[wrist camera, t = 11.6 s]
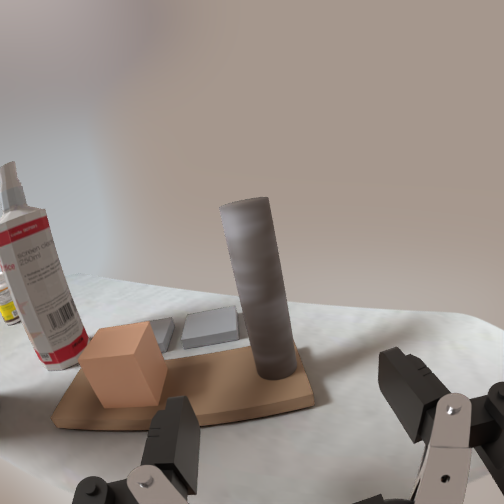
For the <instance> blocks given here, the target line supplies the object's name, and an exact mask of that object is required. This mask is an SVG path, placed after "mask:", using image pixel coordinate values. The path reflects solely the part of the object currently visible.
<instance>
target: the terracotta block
mask: <svg viewBox="0 0 504 504" xmlns="http://www.w3.org/2000/svg"><path fill="white" fill-rule="evenodd" d="M77 360H78V362H79V364H80V366H81V368H82V370H83V372H84V374H85V376H86V377H87V379H88V381H89V383H90V385H91V387H92V388H93V390H94V392H95V394H96V395H97V397H98V399H99V400H100V402H101V404H102V405H103V407H104V408H128V407H146V406H158V404H159V401H160V397H161V393H162V389H163V385H164V381H165V378H166V374H167V370H168V368H167V365H166V363H165V361H164V358H163V356H162V353H161V351H160V348H159V346H158V343H157V340H156V338H155V335H154V332H153V330H152V327H151V324H150V322H149V321H146V322H140V323H134V324H127V325H121V326H114V327H108V328H101V329H99V330H98V331H97V332H96V334H95V335H94V337H93V338H92V339H91V341H90V342H89V344H88V345H87V346H86V348H85V349H84V351H83V352H82V354H81V355H80V356H79V358H78V359H77Z"/></svg>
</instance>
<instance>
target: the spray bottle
mask: <svg viewBox="0 0 504 504" xmlns="http://www.w3.org/2000/svg"><path fill="white" fill-rule="evenodd" d="M0 180H1V186H0V187H1V189H0V198H1V205H2V211H3V216H2V217H1V218H0V266H1V269H2V272H3V275H4V278H5V281H6V284H7V287H8V289H9V292H10V295H11V297H12V300H13V302H14V305H15V307H16V310H17V312H18V315H19V317H20V319H21V322H22V324H23V326H24V329H25V331H26V333H27V335H28V337H29V339H30V341H31V344H32V346H33V348H34V350H35V352H36V354H37V356H38V358H39V359H40V361H41V363H42V365H43V366H44V367H45V368H46V369H47V370H48V371H53V370H63V369H66V368H68V367H70V366H72V365H75V364H77V363H79V362H78V360H77V359H78V358H79V356H80V355H81V354H82V352H83V351H84V349H85V348H86V346H87V345H88V344H89V342H90V340H89V337H88V335H87V333H86V331H85V328H84V326H83V324H82V321H81V319H80V316H79V314H78V311H77V309H76V306H75V304H74V301H73V298H72V296H71V293H70V290H69V288H68V285H67V282H66V279H65V276H64V274H63V270H62V267H61V264H60V261H59V258H58V254H57V251H56V248H55V245H54V241H53V237H52V234H51V230H50V226H49V222H48V218H47V214H46V210H45V209H39V208H35V207H30V206H27V204H26V199H25V195H24V192H23V187H22V186H21V183H20V182H19V180H18V178H17V173H16V166H15V162H14V161H12V162H9V163H7V164H5V165H3V166H2V167H0Z"/></svg>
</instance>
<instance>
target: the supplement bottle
mask: <svg viewBox="0 0 504 504" xmlns="http://www.w3.org/2000/svg"><path fill="white" fill-rule="evenodd" d="M0 312H1V314H2V317H3V319H4V321H5V323H6V324H7V325H12V324H15V323H17V322H19V321H21V319H20V317H19V315H18V312H17V310H16V307H15V305H14V302H13V300H12V297H11V295H10V292H9V289H8V287H7V284H6V281H5V278H4V275H3V272H0Z"/></svg>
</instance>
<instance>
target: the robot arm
mask: <svg viewBox="0 0 504 504" xmlns="http://www.w3.org/2000/svg"><path fill="white" fill-rule="evenodd" d="M378 383H379V387H380V390H381V392H382V394H383V396H384V397H385V399H386V400H387V402H388V403H389V405H390V406H391V408H392V410H393V411H394V413H395V414H396V416H397V418H398V419H399V421H400V422H401V424H402V425H403V427H404V429H405V430H406V432H407V433H408V435H409V437H410V438H411V440H412V442H413V443H414V444H415V443H417V442H419V441H421V440H423V441H424V443H425V444H426V445H425V448H424V451H423V455H422V459H421V463H420V467H419V470H418V474H417V477H416V480H415V484H414V487H413V489H412V492H411V495H410V497H409V500H405V499H387V500H384V499H383V497H382V495H381V494H379V495H377V496H374V497H371V498H368V499H365V500H362V501H359V502H356V503H353V504H463V501H464V496H465V491H466V486H467V480H468V474H469V468H470V461H471V453H472V450H471V448H473V447H474V449H475V450H476V452H477V453H478V455H479V456H480V458H481V459H482V461H483V463H484V464H485V466H486V467H487V469H488V471H489V472H490V474H491V475H492V477H493V479H494V480H495V482H496V484H497V485H498V487H499V489H500V490H501V492H502V494H503V495H504V382H498V383H496V384H494V385H493V386H491V388H490V389H489V392H488V395H485V396H481V397H477V398H473V399H468V398H467V397H466V396H464V395H462V394H459V393H451V392H450V391H449V390H448V389H447V388H446V387H445V386H444V384H443V383H442V382H441V381H440V380H439V379H438V378H437V377H436V376H435V374H434V373H432V371H431V370H430V369H429V368H428V367H427V366H426V365H425V363H424V362H423V361H422V360H421V359H420V358H418V357H416V356H414V355H411V354H409V355H406V356H405V355H404V353H403V352H402V351H401V350H400V349H399V348H398V347H394V348H391V349H388V350H385V351H382V352H380V354H379V371H378ZM149 429H150V430H149V432H148V438H147V440H146V444H145V448H144V452H143V457H142V461H141V465H140V466H139V467H137V468H135V469H134V470H132V471H131V473H130V474H129V475H128V478H127V479H124V480H120V481H116V482H111V483H106V482H105V481H104V480H103V479H102V478H100V477H96V476H91V477H87V478H85V479H83V480H82V481H81V482H80V483H79V484H78V485H77V488H76V491H75V495H74V498H73V502H72V504H189V503H188V502H187V496H188V495H197V478H198V461H199V445H200V426H199V422H198V419H197V417H196V415H195V413H194V410H193V408H192V406H191V404H190V401H189V399H188V397H187V396H177V397H169V398H168V399H167V402H166V407H165V410H158V411H157V413H156V414H155V415H154V417H153V418H152V420H151V424H150V428H149Z"/></svg>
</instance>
